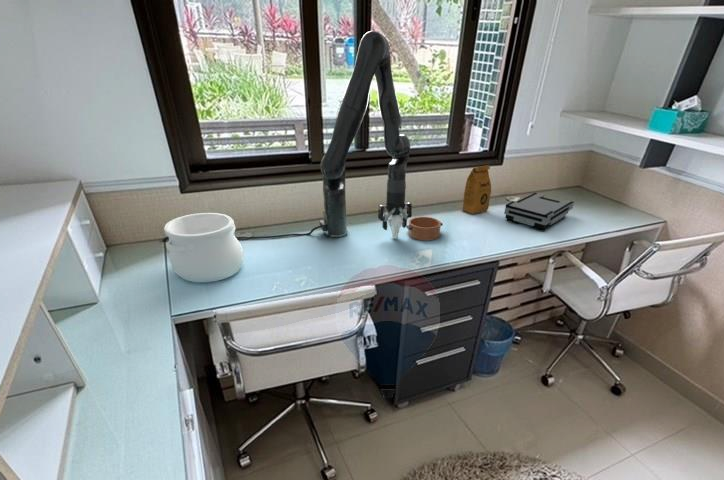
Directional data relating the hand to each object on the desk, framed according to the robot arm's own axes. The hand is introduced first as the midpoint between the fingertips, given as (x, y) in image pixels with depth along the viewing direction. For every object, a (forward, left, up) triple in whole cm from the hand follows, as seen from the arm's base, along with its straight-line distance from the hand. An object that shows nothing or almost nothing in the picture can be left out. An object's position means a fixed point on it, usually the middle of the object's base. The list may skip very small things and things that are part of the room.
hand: (394, 228), depth 172 cm
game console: (+77, 0, -5) cm, 77 cm away
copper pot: (+15, +1, -5) cm, 16 cm away
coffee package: (+53, +19, -5) cm, 57 cm away
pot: (-75, -4, -5) cm, 75 cm away
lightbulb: (+1, 0, -5) cm, 5 cm away
